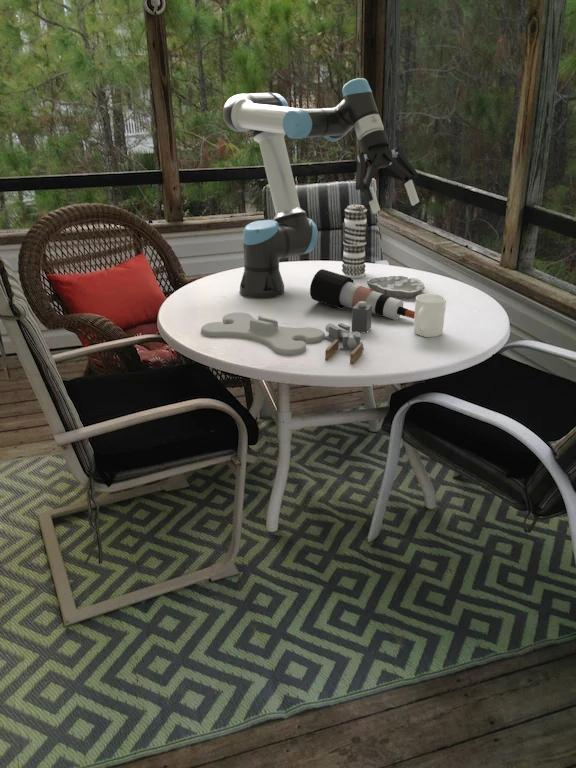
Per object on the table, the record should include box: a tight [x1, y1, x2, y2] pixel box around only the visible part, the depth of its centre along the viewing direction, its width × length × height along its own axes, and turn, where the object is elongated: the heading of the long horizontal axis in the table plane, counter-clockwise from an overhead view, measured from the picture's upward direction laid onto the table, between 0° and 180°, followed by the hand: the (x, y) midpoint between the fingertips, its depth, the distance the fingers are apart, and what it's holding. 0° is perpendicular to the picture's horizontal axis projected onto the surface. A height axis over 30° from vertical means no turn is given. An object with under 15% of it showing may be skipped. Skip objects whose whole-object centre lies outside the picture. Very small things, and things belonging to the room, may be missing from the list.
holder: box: [200, 311, 326, 356], centre depth 187 cm, size 19×34×5 cm, turn 57°
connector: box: [351, 301, 373, 334], centre depth 189 cm, size 4×4×8 cm
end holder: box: [324, 339, 364, 365], centre depth 172 cm, size 8×8×3 cm
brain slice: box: [366, 275, 426, 300], centre depth 224 cm, size 20×17×3 cm
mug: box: [413, 293, 447, 338], centre depth 185 cm, size 12×8×10 cm
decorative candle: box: [341, 203, 369, 279], centre depth 237 cm, size 9×9×25 cm
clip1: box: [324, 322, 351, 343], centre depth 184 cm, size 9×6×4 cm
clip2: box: [338, 331, 364, 351], centre depth 178 cm, size 5×6×4 cm
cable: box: [309, 269, 415, 321], centre depth 203 cm, size 10×34×10 cm, turn 55°
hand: (396, 207), depth 182 cm, fingers open, 13 cm apart
